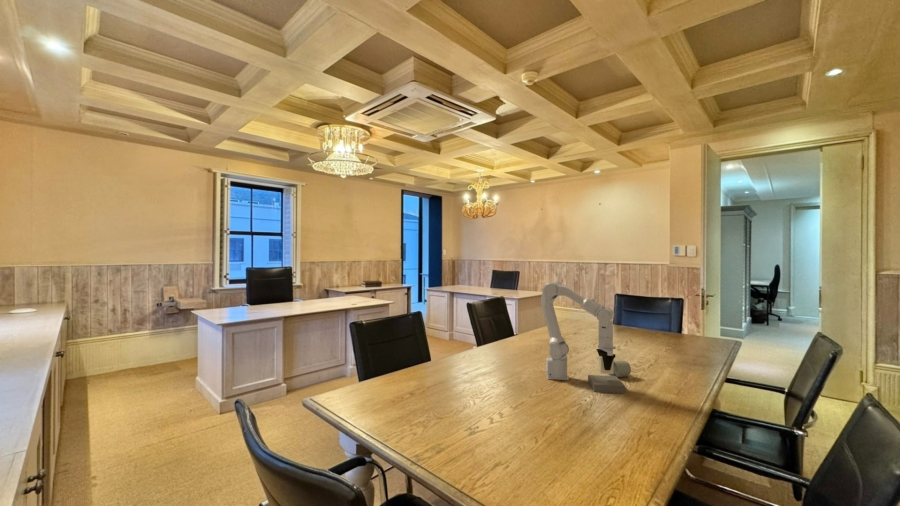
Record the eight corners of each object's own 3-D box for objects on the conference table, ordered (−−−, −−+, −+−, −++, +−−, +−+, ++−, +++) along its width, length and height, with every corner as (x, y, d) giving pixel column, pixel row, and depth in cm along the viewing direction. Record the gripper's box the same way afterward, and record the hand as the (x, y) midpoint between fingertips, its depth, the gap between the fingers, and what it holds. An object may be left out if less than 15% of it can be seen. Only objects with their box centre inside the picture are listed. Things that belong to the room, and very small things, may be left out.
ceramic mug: (632, 378, 169) (632, 361, 169) (618, 379, 166) (617, 362, 167) (615, 371, 179) (615, 355, 179) (601, 373, 177) (601, 357, 177)
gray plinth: (594, 391, 152) (594, 384, 152) (587, 381, 164) (587, 374, 164) (624, 393, 151) (624, 385, 151) (616, 383, 162) (616, 376, 162)
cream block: (601, 373, 155) (601, 359, 155) (598, 369, 160) (598, 356, 160) (613, 374, 155) (613, 359, 155) (610, 370, 159) (610, 356, 160)
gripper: (620, 340, 150) (620, 373, 150) (610, 333, 164) (610, 363, 164) (602, 340, 151) (602, 373, 151) (594, 332, 165) (594, 362, 165)
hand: (605, 368), depth 157 cm, fingers closed on cream block, 5 cm apart
